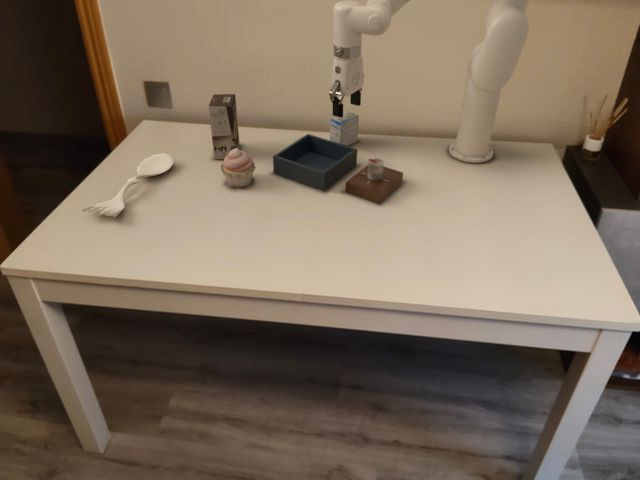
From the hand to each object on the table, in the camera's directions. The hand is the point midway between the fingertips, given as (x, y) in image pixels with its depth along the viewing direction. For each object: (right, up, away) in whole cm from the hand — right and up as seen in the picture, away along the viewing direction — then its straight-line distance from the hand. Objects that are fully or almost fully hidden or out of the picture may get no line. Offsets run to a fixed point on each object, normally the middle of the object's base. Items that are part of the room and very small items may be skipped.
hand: (346, 110), depth 158 cm
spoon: (-56, -25, -16) cm, 63 cm away
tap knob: (+7, -21, -16) cm, 27 cm away
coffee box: (-35, -12, +1) cm, 37 cm away
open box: (-9, -18, -7) cm, 21 cm away
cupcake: (-29, -22, -12) cm, 39 cm away
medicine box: (-1, -9, +7) cm, 11 cm away
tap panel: (+7, -24, -14) cm, 28 cm away
